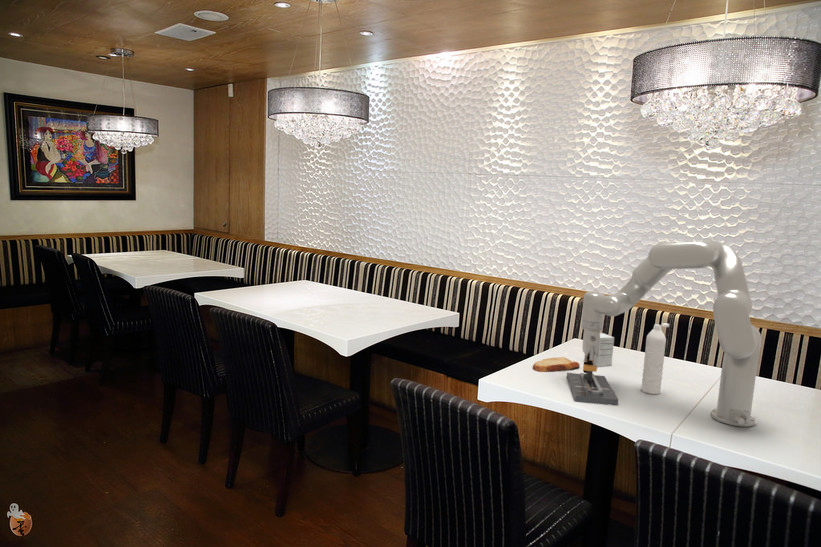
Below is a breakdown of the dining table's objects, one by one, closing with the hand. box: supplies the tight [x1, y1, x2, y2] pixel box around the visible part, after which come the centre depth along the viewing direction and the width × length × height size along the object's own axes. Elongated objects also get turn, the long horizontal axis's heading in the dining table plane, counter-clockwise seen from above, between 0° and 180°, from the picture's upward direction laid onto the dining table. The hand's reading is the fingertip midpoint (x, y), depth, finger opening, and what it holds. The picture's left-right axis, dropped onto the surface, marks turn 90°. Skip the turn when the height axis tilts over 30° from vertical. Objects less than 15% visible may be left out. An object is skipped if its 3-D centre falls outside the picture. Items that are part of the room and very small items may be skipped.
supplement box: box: [593, 332, 615, 368], centre depth 237 cm, size 7×7×13 cm
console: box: [566, 372, 619, 406], centre depth 204 cm, size 26×14×3 cm, turn 171°
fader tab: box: [582, 363, 598, 382], centre depth 208 cm, size 3×4×6 cm, turn 81°
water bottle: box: [640, 322, 670, 395], centre depth 205 cm, size 9×6×25 cm
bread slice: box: [532, 356, 581, 373], centre depth 230 cm, size 18×18×4 cm
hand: (587, 372), depth 212 cm, fingers closed
